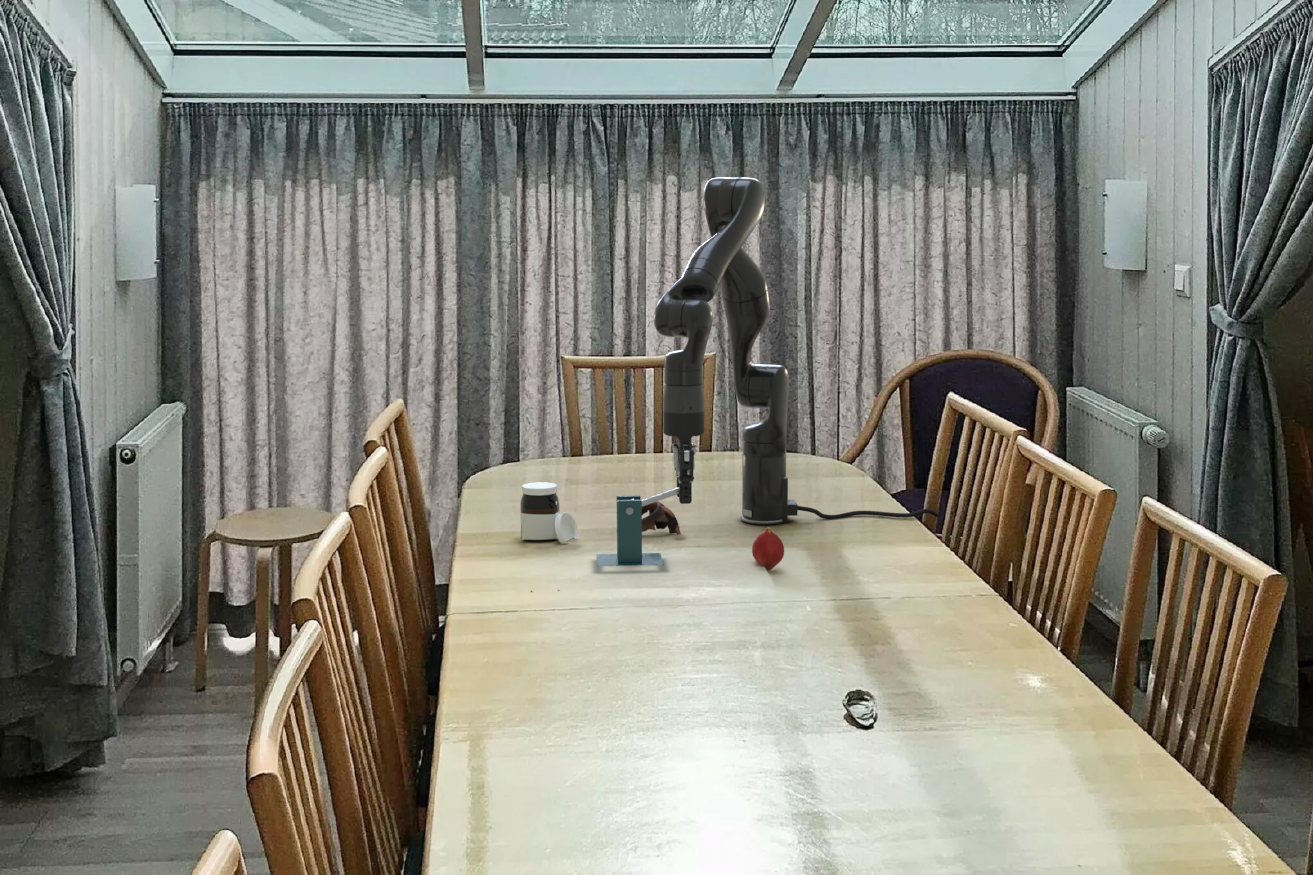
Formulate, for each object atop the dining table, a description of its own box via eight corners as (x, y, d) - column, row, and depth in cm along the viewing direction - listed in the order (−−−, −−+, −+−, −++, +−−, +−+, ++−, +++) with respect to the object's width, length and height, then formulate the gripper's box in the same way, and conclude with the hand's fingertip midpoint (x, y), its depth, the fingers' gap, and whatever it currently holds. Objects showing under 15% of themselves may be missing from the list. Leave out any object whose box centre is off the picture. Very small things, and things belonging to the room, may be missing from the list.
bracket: (660, 559, 260) (660, 492, 258) (663, 571, 251) (663, 502, 249) (596, 561, 259) (595, 493, 257) (597, 572, 250) (596, 503, 248)
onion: (749, 566, 254) (750, 524, 253) (780, 565, 255) (781, 523, 253) (754, 574, 248) (755, 531, 247) (786, 573, 249) (786, 530, 248)
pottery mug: (683, 545, 273) (664, 511, 271) (642, 563, 276) (621, 530, 273) (686, 517, 284) (667, 485, 282) (646, 535, 287) (627, 503, 284)
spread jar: (521, 538, 278) (520, 481, 277) (577, 536, 279) (577, 480, 277) (520, 551, 267) (519, 492, 265) (579, 550, 267) (578, 491, 266)
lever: (690, 490, 256) (686, 478, 256) (692, 495, 251) (688, 483, 251) (623, 513, 256) (619, 501, 256) (624, 519, 251) (620, 506, 251)
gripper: (708, 413, 244) (708, 507, 247) (700, 403, 258) (700, 492, 261) (665, 414, 244) (666, 508, 246) (660, 403, 258) (661, 493, 261)
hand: (684, 499), depth 254 cm, fingers open, 5 cm apart
